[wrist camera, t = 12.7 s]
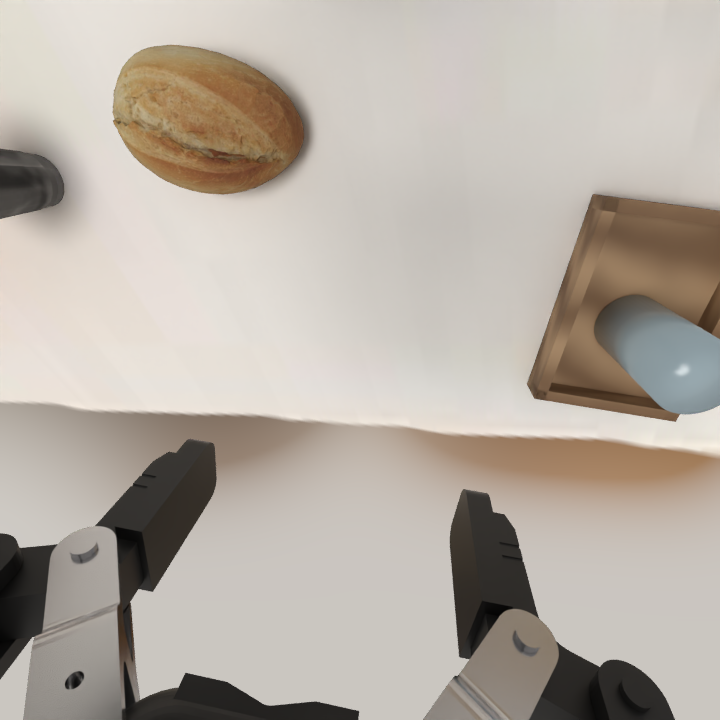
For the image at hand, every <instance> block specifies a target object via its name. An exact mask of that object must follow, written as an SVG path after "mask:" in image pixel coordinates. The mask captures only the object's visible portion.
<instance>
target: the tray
mask: <svg viewBox="0 0 720 720" xmlns="http://www.w3.org/2000/svg"><path fill="white" fill-rule="evenodd" d="M629 295H644V296H647V297H650V298H652V299H653V300H655V301H657V302H658V303H660V304H662V305H663V306H665V307H667V308H668V309H670V310H672V311H673V312H675V313H677V314H678V315H680V316H682V317H683V318H685V319H687V320H688V321H690V322H692V323H693V324H695V325H697V326H698V327H700V328H702V329H703V330H705V331H707V332H708V333H710V334H712V335H713V336H715V337H717V338H718V339H720V211H717V210H710V209H702V208H694V207H687V206H679V205H671V204H664V203H656V202H648V201H641V200H633V199H625V198H618V197H610V196H602V195H595V194H593V196H592V199H591V201H590V204H589V207H588V210H587V213H586V216H585V219H584V222H583V225H582V227H581V230H580V233H579V236H578V239H577V242H576V245H575V248H574V251H573V253H572V256H571V259H570V262H569V265H568V268H567V271H566V274H565V277H564V279H563V282H562V285H561V288H560V291H559V294H558V297H557V300H556V303H555V305H554V308H553V311H552V314H551V317H550V320H549V323H548V326H547V329H546V331H545V334H544V337H543V340H542V343H541V346H540V349H539V352H538V355H537V357H536V360H535V363H534V366H533V369H532V372H531V375H530V378H529V381H528V383H527V385H528V387H529V389H530V391H531V393H532V395H533V397H534V399H540V400H547V401H553V402H559V403H565V404H571V405H577V406H583V407H589V408H595V409H601V410H608V411H614V412H620V413H626V414H632V415H638V416H644V417H650V418H656V419H663V420H669V421H675V422H676V420H677V418H678V417H679V415H680V414H677V413H673V412H670V411H667V410H665V409H664V408H662V407H661V406H660V405H658V404H657V403H656V402H655V401H654V400H653V399H652V397H651V396H650V395H649V394H648V393H647V392H646V391H645V390H644V389H643V388H642V387H641V386H640V385H639V384H638V383H637V382H636V381H635V380H634V379H633V378H632V377H631V376H630V375H629V374H628V373H627V372H626V371H625V370H624V369H623V368H622V367H621V366H620V365H619V364H618V363H617V362H616V361H615V360H614V359H613V358H612V357H611V356H610V355H609V354H608V353H607V352H606V351H605V350H604V349H603V348H602V347H601V346H600V345H599V343H598V342H597V340H596V338H595V335H594V326H595V322H596V320H597V317H598V316H599V314H600V313H601V311H602V310H603V309H604V308H605V307H606V306H607V305H609V304H610V303H612V302H613V301H615V300H617V299H619V298H621V297H625V296H629Z"/></svg>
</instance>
